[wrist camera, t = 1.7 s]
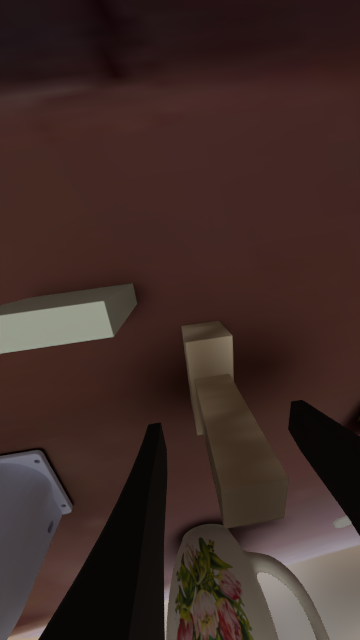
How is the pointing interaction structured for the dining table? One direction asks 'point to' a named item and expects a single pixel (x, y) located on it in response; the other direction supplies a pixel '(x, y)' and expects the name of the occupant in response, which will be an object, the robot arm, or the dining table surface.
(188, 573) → the pitcher
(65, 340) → the tile
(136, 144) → the dining table surface
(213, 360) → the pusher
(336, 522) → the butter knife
